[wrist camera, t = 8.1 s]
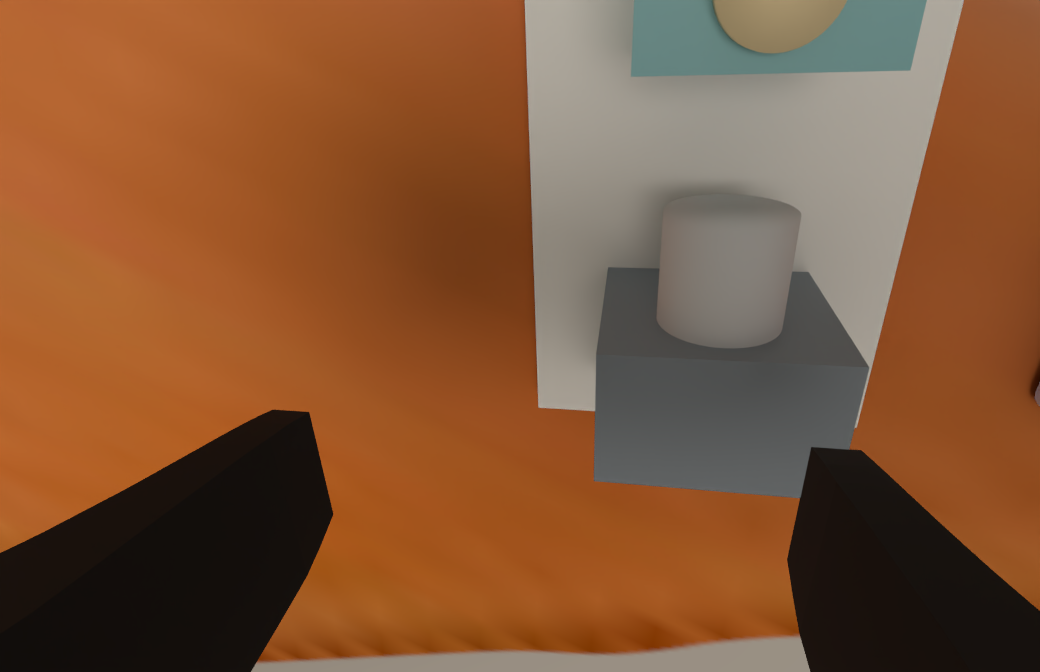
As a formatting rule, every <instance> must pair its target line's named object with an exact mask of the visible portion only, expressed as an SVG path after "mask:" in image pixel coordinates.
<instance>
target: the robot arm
mask: <svg viewBox="0 0 1040 672" xmlns="http://www.w3.org/2000/svg"><path fill="white" fill-rule="evenodd" d="M1035 400H1036V402H1037V404H1038V405H1039V406H1040V382H1039V385H1038V387H1037V390H1036V392H1035ZM332 516H333V511H332V507H331V503H330V498H329V494H328V490H327V486H326V481H325V477H324V473H323V469H322V465H321V460H320V456H319V452H318V448H317V443H316V439H315V435H314V431H313V427H312V422H311V418H310V414H309V412H299V411H284V410H271V411H269V412H267V413H265V414H262V415H260V416H258V417H256V418H254V419H252V420H250V421H248V422H246V423H244V424H242V425H240V426H239V427H237V428H235V429H233V430H231V431H229V432H228V433H226V434H224V435H222V436H220V437H218V438H217V439H215V440H213V441H211V442H209V443H208V444H206V445H204V446H202V447H201V448H199V449H197V450H195V451H193V452H192V453H190V454H188V455H186V456H185V457H183V458H181V459H179V460H177V461H176V462H174V463H172V464H170V465H168V466H167V467H165V468H163V469H161V470H159V471H158V472H156V473H154V474H152V475H151V476H149V477H147V478H145V479H143V480H142V481H140V482H138V483H136V484H134V485H133V486H131V487H129V488H127V489H125V490H123V491H121V492H120V493H118V494H116V495H114V496H112V497H110V498H108V499H106V500H104V501H102V502H100V503H99V504H97V505H95V506H93V507H91V508H89V509H87V510H85V511H83V512H81V513H79V514H77V515H76V516H74V517H72V518H70V519H68V520H66V521H64V522H62V523H60V524H58V525H56V526H55V527H53V528H51V529H49V530H47V531H45V532H43V533H41V534H39V535H37V536H35V537H33V538H31V539H29V540H27V541H25V542H23V543H21V544H18V545H16V546H14V547H12V548H10V549H8V550H6V551H4V552H2V553H0V672H251V670H252V669H253V667H254V665H255V664H256V662H257V660H258V659H259V657H260V655H261V654H262V652H263V650H264V649H265V647H266V645H267V644H268V642H269V640H270V639H271V637H272V635H273V633H274V632H275V630H276V628H277V627H278V625H279V623H280V622H281V620H282V618H283V617H284V615H285V613H286V611H287V610H288V608H289V606H290V604H291V603H292V601H293V599H294V598H295V596H296V594H297V592H298V591H299V589H300V587H301V585H302V584H303V582H304V580H305V578H306V577H307V575H308V573H309V570H310V568H311V566H312V564H313V561H314V559H315V557H316V555H317V553H318V550H319V548H320V546H321V543H322V541H323V538H324V536H325V533H326V531H327V528H328V526H329V524H330V521H331V519H332ZM787 561H788V567H789V574H790V580H791V586H792V593H793V599H794V605H795V610H796V616H797V622H798V627H799V633H800V637H801V640H802V644H803V647H804V651H805V654H806V658H807V661H808V665H809V668H810V672H1040V611H1039V610H1038V609H1037V608H1036V607H1034V606H1033V605H1032V604H1031V603H1030V602H1029V601H1027V600H1026V599H1025V598H1024V597H1023V596H1022V595H1020V594H1019V593H1018V592H1017V591H1016V590H1014V589H1013V588H1012V587H1011V586H1010V585H1009V584H1007V583H1006V582H1005V581H1004V580H1003V579H1002V578H1001V577H999V576H998V575H997V574H996V573H995V572H994V571H993V570H991V569H990V568H989V567H988V566H987V565H986V564H985V563H984V562H982V561H981V560H980V559H979V558H978V557H977V556H976V555H975V554H974V553H972V552H971V551H970V550H969V549H968V548H967V547H966V546H965V545H963V544H962V543H961V542H960V541H959V540H958V539H957V538H956V537H955V536H954V535H952V534H951V533H950V532H949V531H948V530H947V529H946V528H945V527H944V526H943V525H942V524H940V523H939V522H938V521H937V520H936V519H935V518H934V517H933V516H932V515H931V514H930V513H929V512H928V511H926V510H925V509H924V508H923V507H922V506H921V505H920V504H919V503H918V502H917V501H916V500H915V499H914V498H912V497H911V496H910V495H909V494H908V493H907V492H906V491H905V490H904V489H903V488H902V487H901V486H900V485H899V484H898V483H896V482H895V481H894V480H893V479H892V478H891V477H890V476H889V475H888V474H887V473H886V472H885V471H884V470H882V469H881V468H880V467H879V466H878V465H877V464H876V463H875V462H874V461H873V460H871V459H870V458H869V457H868V456H867V455H866V454H865V453H864V452H862V451H861V450H848V449H834V448H819V447H811V451H810V455H809V460H808V465H807V469H806V474H805V479H804V483H803V488H802V493H801V497H800V502H799V507H798V511H797V516H796V521H795V526H794V530H793V535H792V540H791V544H790V549H789V554H788V558H787Z"/></svg>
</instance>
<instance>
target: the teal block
mask: <svg viewBox="0 0 1040 672" xmlns="http://www.w3.org/2000/svg"><path fill="white" fill-rule="evenodd" d="M926 2H927V0H634V15H633V38H632V62H631V77H644V76H688V75H733V74H778V73H822V72H867V71H910V70H911V66H912V62H913V57H914V53H915V49H916V45H917V40H918V36H919V32H920V27H921V23H922V19H923V15H924V10H925V6H926Z"/></svg>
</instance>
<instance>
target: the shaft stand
mask: <svg viewBox="0 0 1040 672" xmlns="http://www.w3.org/2000/svg"><path fill="white" fill-rule="evenodd" d="M963 2H964V0H927V2H926V6H925V10H924V15H923V19H922V23H921V27H920V32H919V36H918V40H917V45H916V49H915V53H914V57H913V62H912V66H911V70H910V71H867V72H822V73H778V74H733V75H688V76H644V77H631V62H632V38H633V15H634V0H525V25H526V54H527V84H528V113H529V143H530V172H531V202H532V232H533V261H534V291H535V320H536V350H537V379H538V408H554V409H570V410H585V411H595V450H594V481H600V482H612V483H624V484H636V485H648V486H660V487H672V488H684V489H696V490H708V491H721V492H733V493H745V494H757V495H769V496H781V497H793V498H800V497H801V493H802V488H803V483H804V479H805V474H806V469H807V465H808V460H809V455H810V451H811V447H819V448H834V449H848V450H849V448H850V444H851V440H852V436H853V432H854V428H857V424H858V421H859V417H860V413H861V409H862V405H863V401H864V397H865V393H866V389H867V385H868V381H869V377H870V373H871V369H872V365H873V361H874V357H875V353H876V349H877V345H878V341H879V337H880V333H881V329H882V325H883V321H884V317H885V313H886V309H887V305H888V301H889V297H890V293H891V289H892V285H893V281H894V277H895V273H896V269H897V265H898V261H899V257H900V253H901V249H902V245H903V241H904V237H905V233H906V229H907V225H908V221H909V217H910V213H911V209H912V205H913V201H914V197H915V193H916V189H917V185H918V181H919V177H920V173H921V169H922V165H923V161H924V157H925V153H926V149H927V145H928V141H929V137H930V133H931V129H932V125H933V121H934V117H935V113H936V109H937V105H938V101H939V97H940V93H941V89H942V85H943V82H944V78H945V74H946V70H947V66H948V62H949V58H950V54H951V50H952V46H953V42H954V38H955V34H956V30H957V26H958V22H959V18H960V14H961V10H962V6H963Z"/></svg>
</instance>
